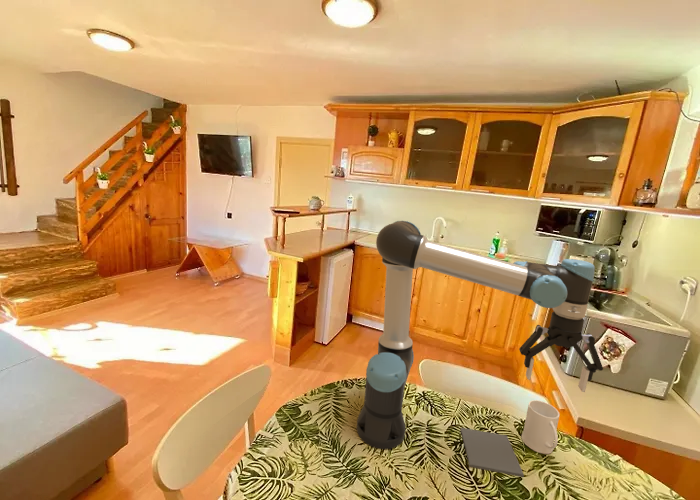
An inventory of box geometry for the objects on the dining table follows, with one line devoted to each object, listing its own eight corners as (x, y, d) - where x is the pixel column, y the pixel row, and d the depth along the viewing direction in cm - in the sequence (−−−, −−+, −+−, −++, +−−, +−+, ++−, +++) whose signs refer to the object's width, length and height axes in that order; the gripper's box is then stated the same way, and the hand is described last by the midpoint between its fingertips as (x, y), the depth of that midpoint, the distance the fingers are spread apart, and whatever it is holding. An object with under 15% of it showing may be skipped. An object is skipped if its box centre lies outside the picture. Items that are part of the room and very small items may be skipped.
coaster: (469, 466, 86) (470, 464, 86) (460, 429, 100) (460, 427, 100) (523, 477, 84) (523, 474, 84) (506, 437, 98) (506, 435, 97)
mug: (564, 465, 89) (573, 429, 86) (533, 461, 90) (541, 424, 87) (544, 434, 100) (551, 401, 98) (516, 430, 101) (523, 397, 99)
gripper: (520, 311, 87) (508, 379, 91) (629, 328, 79) (611, 402, 83) (516, 302, 94) (505, 366, 98) (615, 318, 86) (599, 386, 90)
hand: (554, 383), depth 90 cm, fingers open, 13 cm apart
